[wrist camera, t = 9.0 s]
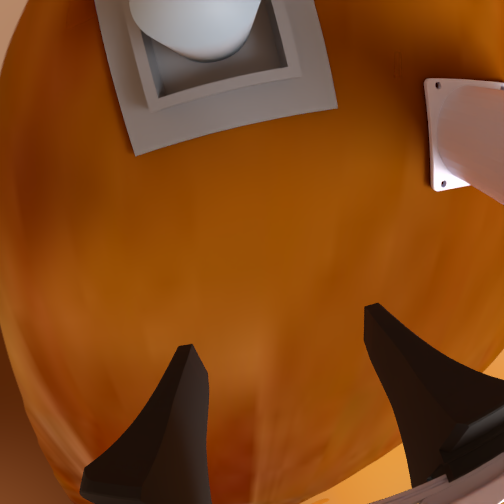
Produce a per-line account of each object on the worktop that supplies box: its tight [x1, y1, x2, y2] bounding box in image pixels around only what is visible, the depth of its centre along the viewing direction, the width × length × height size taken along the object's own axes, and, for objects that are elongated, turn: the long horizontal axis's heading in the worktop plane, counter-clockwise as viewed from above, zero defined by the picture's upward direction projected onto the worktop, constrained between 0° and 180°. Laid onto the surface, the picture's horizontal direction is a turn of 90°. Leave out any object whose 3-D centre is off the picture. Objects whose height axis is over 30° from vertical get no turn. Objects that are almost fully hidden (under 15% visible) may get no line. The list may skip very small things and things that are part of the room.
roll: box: [129, 0, 261, 63], centre depth 10 cm, size 4×4×7 cm
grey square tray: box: [95, 0, 338, 156], centre depth 13 cm, size 12×12×3 cm
